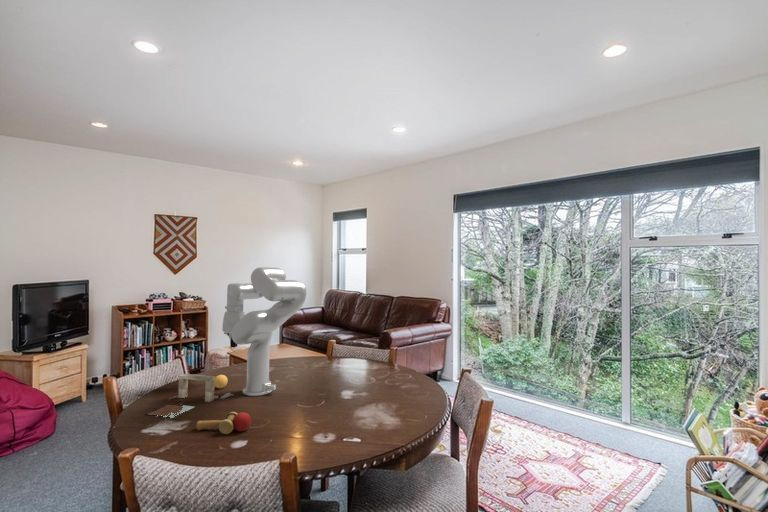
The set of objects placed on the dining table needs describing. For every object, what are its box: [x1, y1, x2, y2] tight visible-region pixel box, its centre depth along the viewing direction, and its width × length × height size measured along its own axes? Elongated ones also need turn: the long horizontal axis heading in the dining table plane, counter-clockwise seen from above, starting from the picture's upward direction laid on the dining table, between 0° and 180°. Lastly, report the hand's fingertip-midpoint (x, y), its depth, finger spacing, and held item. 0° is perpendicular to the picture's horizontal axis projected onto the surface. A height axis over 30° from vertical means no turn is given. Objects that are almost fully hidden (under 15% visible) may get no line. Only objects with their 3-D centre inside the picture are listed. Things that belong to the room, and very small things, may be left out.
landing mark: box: [156, 404, 195, 419], centre depth 150 cm, size 12×12×1 cm
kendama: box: [196, 411, 252, 435], centre depth 134 cm, size 8×6×18 cm
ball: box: [214, 374, 229, 389], centre depth 180 cm, size 6×6×6 cm
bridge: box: [177, 373, 216, 403], centre depth 164 cm, size 3×15×10 cm, turn 76°
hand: (233, 346), depth 189 cm, fingers closed
